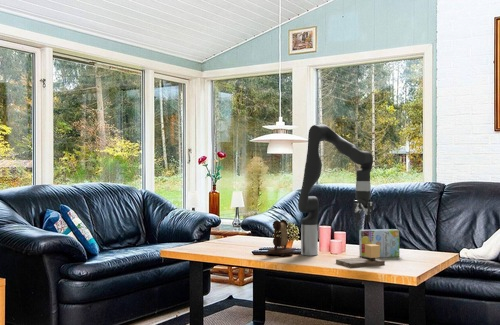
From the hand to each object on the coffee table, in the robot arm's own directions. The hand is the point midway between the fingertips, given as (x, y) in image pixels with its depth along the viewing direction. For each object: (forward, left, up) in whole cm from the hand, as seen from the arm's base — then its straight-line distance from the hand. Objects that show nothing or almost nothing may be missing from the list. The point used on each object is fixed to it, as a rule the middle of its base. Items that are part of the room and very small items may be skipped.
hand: (362, 221), depth 284 cm
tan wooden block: (+4, +3, -18) cm, 19 cm away
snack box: (-16, +21, -22) cm, 35 cm away
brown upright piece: (-43, -27, -22) cm, 55 cm away
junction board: (+1, -3, -22) cm, 22 cm away
